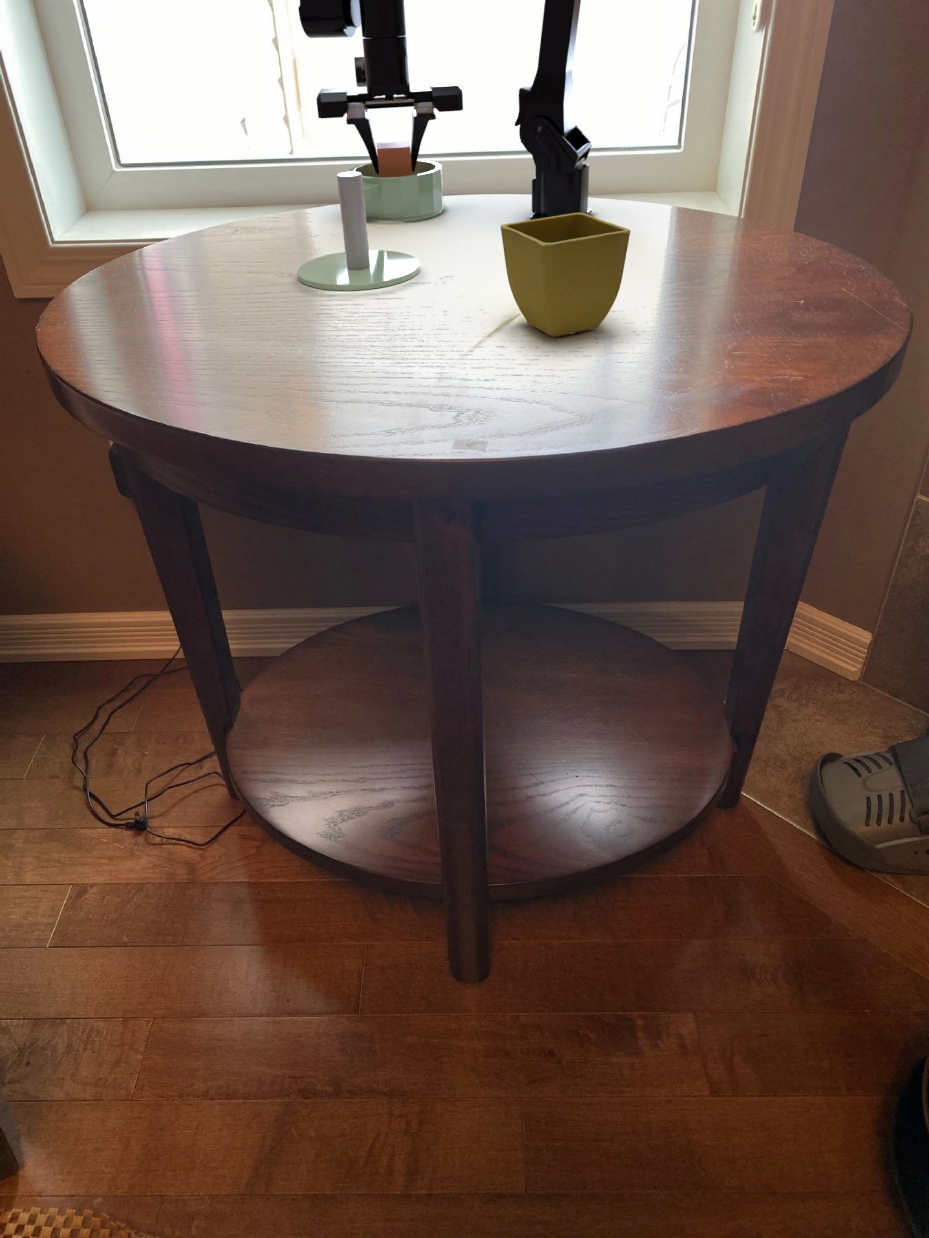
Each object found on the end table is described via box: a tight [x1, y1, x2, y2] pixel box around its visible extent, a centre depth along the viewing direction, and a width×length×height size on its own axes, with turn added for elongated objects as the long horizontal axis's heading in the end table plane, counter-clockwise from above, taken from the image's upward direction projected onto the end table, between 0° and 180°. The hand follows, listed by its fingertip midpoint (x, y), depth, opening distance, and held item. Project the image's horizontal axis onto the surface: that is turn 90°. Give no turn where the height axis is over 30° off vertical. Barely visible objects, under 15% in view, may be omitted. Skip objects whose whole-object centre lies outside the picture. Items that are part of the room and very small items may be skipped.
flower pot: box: [500, 213, 631, 338], centre depth 83 cm, size 9×9×9 cm
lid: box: [297, 171, 421, 292], centre depth 99 cm, size 14×14×11 cm
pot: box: [347, 159, 445, 223], centre depth 125 cm, size 13×18×6 cm
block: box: [376, 140, 412, 177], centre depth 123 cm, size 4×4×4 cm
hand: (395, 172), depth 124 cm, fingers closed on block, 4 cm apart
